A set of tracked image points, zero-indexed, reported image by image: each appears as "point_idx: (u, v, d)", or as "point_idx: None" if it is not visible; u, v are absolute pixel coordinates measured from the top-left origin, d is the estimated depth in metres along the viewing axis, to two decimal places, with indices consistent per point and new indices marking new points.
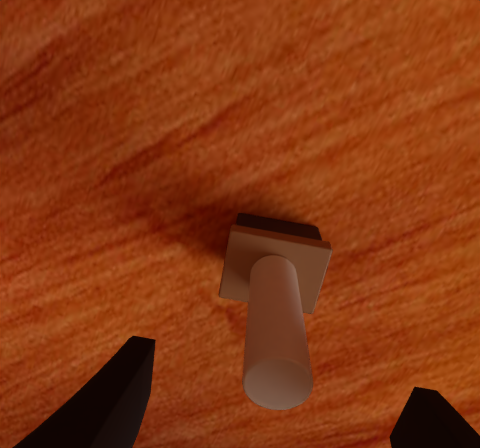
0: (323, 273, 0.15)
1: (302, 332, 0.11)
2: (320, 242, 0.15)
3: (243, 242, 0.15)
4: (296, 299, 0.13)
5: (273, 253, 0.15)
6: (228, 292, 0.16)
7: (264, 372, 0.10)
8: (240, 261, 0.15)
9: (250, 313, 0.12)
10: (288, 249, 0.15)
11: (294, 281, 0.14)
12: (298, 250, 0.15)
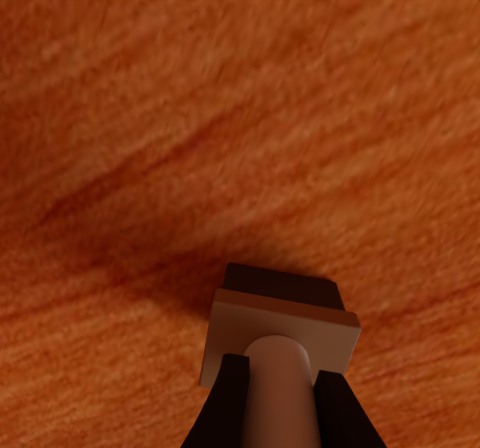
0: (347, 359, 0.11)
1: None
2: (343, 315, 0.11)
3: (232, 317, 0.10)
4: (312, 429, 0.08)
5: (276, 332, 0.10)
6: (212, 381, 0.11)
7: None
8: (228, 342, 0.11)
9: None
10: (298, 327, 0.10)
11: (307, 385, 0.09)
12: (312, 329, 0.10)
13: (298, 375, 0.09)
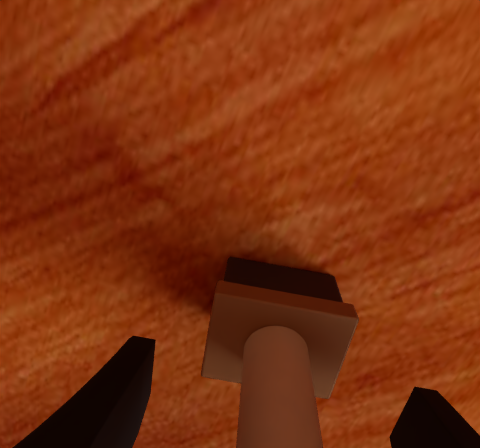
0: (345, 349, 0.11)
1: None
2: (341, 306, 0.11)
3: (233, 308, 0.11)
4: (311, 413, 0.08)
5: (275, 323, 0.11)
6: (214, 371, 0.12)
7: None
8: (229, 332, 0.11)
9: (241, 441, 0.08)
10: (297, 318, 0.11)
11: (306, 373, 0.10)
12: (310, 319, 0.11)
13: (297, 363, 0.10)
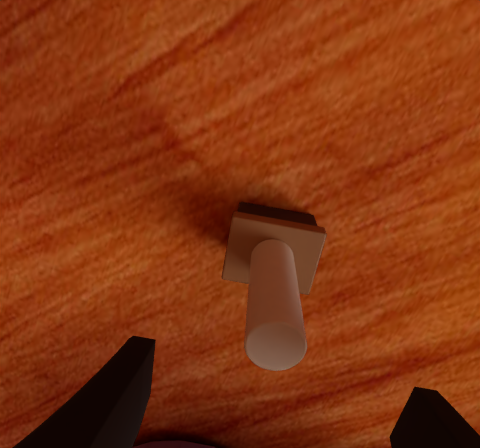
0: (318, 256, 0.17)
1: (297, 303, 0.13)
2: (315, 227, 0.17)
3: (244, 227, 0.16)
4: (292, 276, 0.14)
5: (272, 237, 0.16)
6: (230, 274, 0.17)
7: (263, 335, 0.11)
8: (241, 245, 0.17)
9: (251, 288, 0.14)
10: (286, 234, 0.16)
11: (291, 262, 0.15)
12: (295, 234, 0.16)
13: (285, 256, 0.15)
